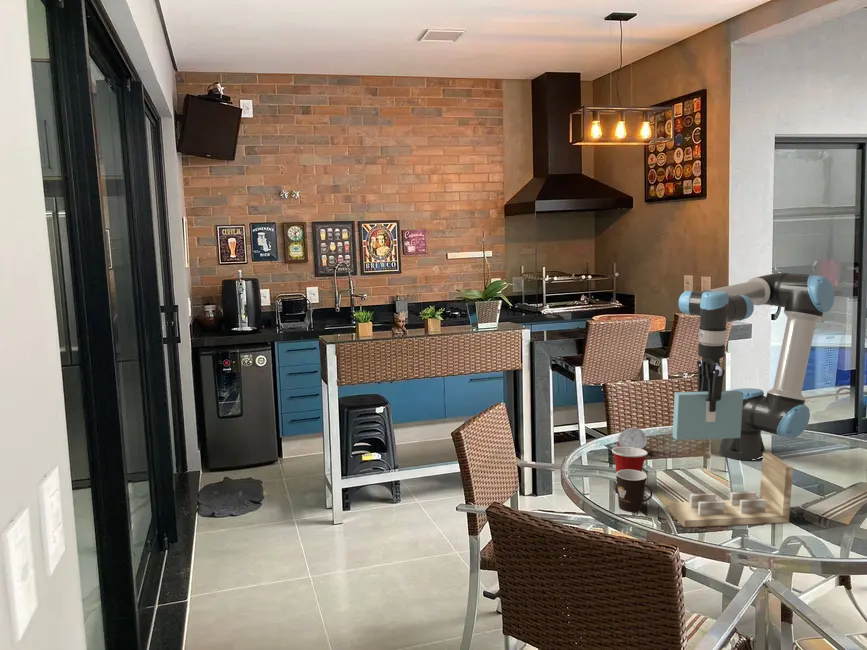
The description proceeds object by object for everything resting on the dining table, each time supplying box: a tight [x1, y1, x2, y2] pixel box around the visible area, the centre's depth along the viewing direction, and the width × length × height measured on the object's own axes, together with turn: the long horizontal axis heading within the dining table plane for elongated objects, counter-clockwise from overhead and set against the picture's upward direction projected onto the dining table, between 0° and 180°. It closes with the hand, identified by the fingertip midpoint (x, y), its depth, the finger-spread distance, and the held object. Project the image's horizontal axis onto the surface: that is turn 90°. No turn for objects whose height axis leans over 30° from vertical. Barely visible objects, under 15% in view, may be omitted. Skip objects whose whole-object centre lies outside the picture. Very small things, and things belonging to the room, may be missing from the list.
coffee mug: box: [615, 469, 653, 513], centre depth 214 cm, size 12×9×10 cm
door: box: [672, 390, 743, 441], centre depth 224 cm, size 20×3×14 cm, turn 95°
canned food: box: [616, 427, 648, 451], centre depth 262 cm, size 11×10×10 cm
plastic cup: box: [611, 446, 648, 473], centre depth 231 cm, size 11×11×12 cm
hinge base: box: [666, 452, 794, 528], centre depth 208 cm, size 30×12×16 cm, turn 95°
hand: (707, 419), depth 224 cm, fingers closed on door, 3 cm apart
